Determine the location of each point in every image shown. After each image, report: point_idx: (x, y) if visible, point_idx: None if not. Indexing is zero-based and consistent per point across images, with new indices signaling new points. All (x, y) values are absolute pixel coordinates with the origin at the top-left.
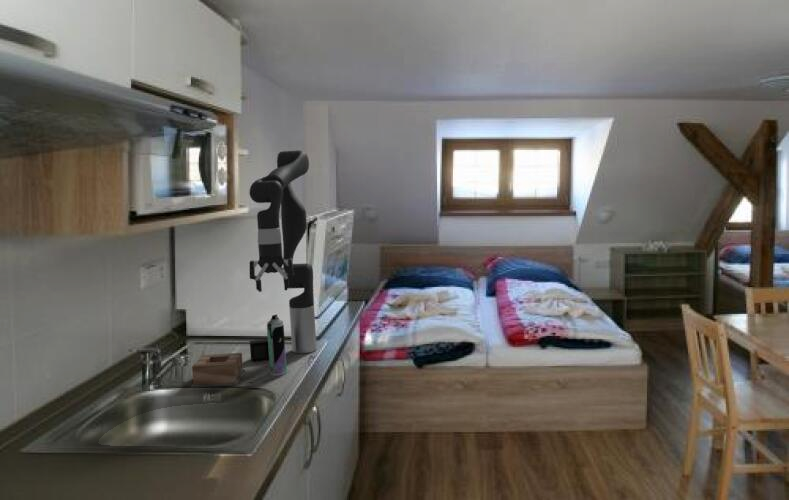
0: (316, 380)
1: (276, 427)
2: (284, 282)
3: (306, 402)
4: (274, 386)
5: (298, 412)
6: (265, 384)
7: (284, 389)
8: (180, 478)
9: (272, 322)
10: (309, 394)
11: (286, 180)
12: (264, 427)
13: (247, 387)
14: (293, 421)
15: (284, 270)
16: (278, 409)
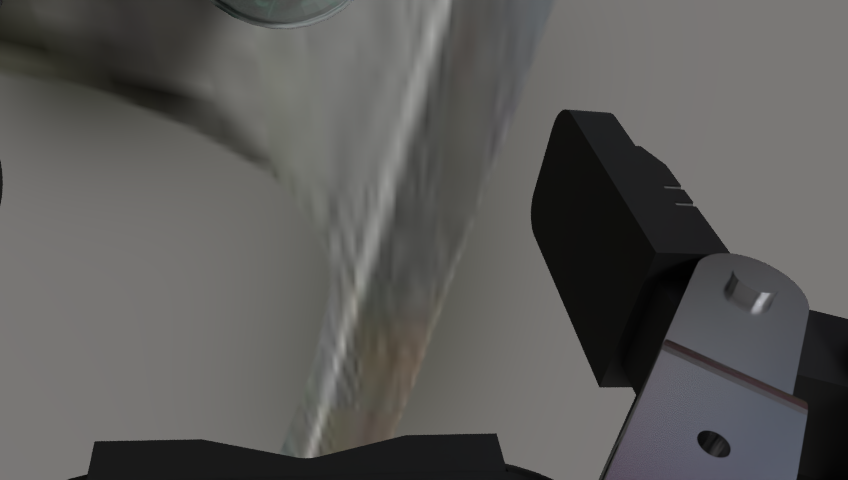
0: (524, 47)
1: None
2: (585, 332)
3: (438, 316)
4: (275, 89)
5: (401, 392)
6: (212, 39)
7: (337, 149)
8: None
9: (254, 7)
10: (460, 238)
11: None
12: None
13: (101, 66)
14: None
15: (792, 428)
16: (322, 361)
